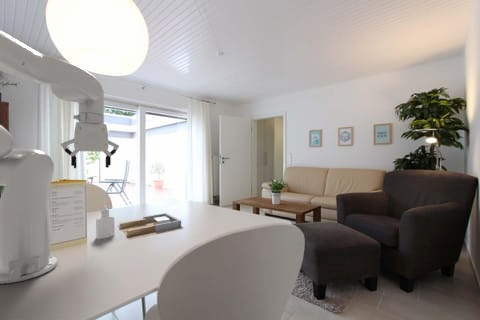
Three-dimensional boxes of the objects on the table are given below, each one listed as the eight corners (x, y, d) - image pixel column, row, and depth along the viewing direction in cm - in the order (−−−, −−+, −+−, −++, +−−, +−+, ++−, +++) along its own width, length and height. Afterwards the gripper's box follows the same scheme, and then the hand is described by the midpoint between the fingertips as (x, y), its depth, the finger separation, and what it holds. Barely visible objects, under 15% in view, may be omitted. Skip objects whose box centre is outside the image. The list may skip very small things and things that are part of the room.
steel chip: (169, 225, 94) (169, 219, 94) (157, 227, 91) (157, 221, 91) (165, 222, 99) (165, 216, 99) (153, 224, 96) (153, 218, 96)
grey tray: (181, 226, 93) (181, 220, 92) (156, 232, 86) (155, 225, 86) (166, 218, 105) (166, 213, 105) (143, 222, 98) (142, 216, 98)
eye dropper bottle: (97, 238, 82) (97, 205, 82) (115, 236, 84) (114, 204, 84) (94, 242, 78) (94, 207, 78) (113, 240, 80) (113, 206, 80)
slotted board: (184, 230, 91) (183, 222, 91) (130, 242, 78) (130, 233, 78) (165, 219, 107) (164, 213, 107) (117, 228, 94) (117, 220, 94)
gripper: (60, 115, 73) (60, 168, 73) (120, 121, 83) (120, 167, 83) (61, 118, 79) (61, 168, 79) (117, 123, 89) (117, 167, 89)
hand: (91, 167), depth 81 cm, fingers open, 9 cm apart
